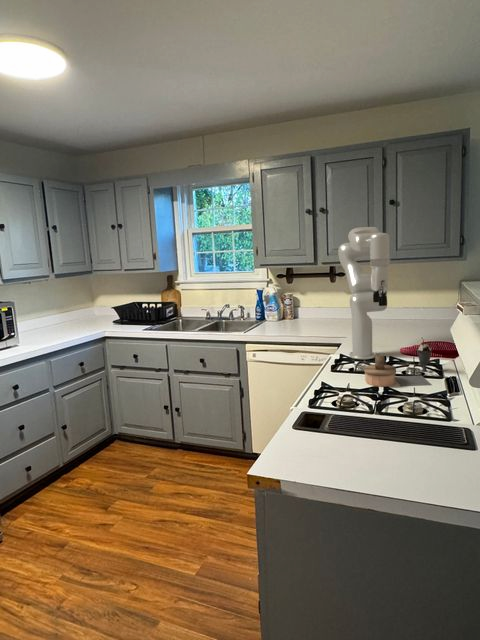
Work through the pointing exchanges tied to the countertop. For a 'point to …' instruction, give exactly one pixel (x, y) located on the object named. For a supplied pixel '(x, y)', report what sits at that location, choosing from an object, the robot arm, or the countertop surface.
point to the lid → (379, 368)
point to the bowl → (380, 380)
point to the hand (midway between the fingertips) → (379, 303)
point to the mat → (411, 381)
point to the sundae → (424, 355)
